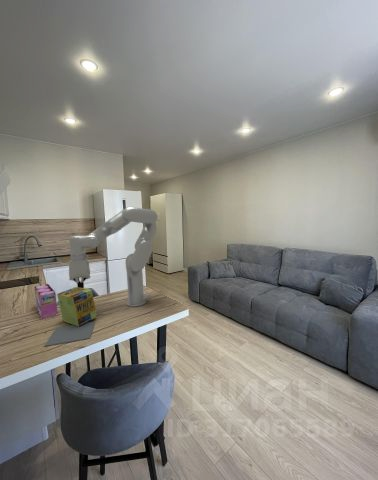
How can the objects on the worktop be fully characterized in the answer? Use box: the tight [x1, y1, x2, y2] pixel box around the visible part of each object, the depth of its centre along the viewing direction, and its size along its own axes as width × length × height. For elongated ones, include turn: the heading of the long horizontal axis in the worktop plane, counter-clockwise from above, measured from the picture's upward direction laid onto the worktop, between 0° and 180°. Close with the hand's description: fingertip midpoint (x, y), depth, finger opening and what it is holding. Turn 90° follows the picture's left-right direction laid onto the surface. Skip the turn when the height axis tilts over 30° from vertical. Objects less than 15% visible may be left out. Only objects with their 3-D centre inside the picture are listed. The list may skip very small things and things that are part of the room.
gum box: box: [34, 283, 59, 319], centre depth 126 cm, size 24×8×14 cm, turn 42°
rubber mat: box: [43, 321, 96, 348], centre depth 100 cm, size 18×16×1 cm
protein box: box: [56, 286, 97, 327], centre depth 112 cm, size 10×15×16 cm
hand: (80, 289), depth 120 cm, fingers closed
